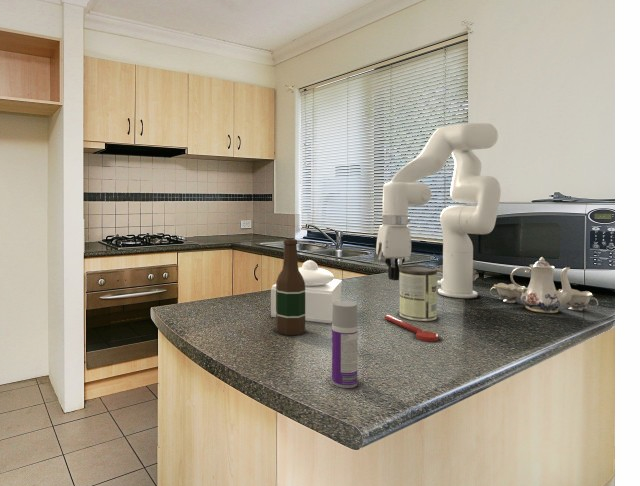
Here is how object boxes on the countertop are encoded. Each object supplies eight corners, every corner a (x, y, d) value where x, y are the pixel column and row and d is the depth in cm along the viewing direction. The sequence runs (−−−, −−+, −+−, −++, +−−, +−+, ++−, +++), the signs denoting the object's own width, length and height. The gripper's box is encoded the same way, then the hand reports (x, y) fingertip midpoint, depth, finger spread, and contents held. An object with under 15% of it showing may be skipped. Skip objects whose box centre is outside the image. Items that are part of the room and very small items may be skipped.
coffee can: (400, 310, 134) (400, 264, 134) (437, 314, 130) (437, 266, 129) (397, 318, 125) (397, 269, 124) (436, 323, 120) (437, 272, 120)
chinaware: (591, 312, 137) (591, 259, 138) (605, 319, 123) (604, 260, 124) (489, 302, 150) (489, 253, 152) (491, 308, 136) (491, 254, 137)
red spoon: (378, 319, 124) (378, 314, 124) (393, 318, 125) (393, 313, 125) (425, 342, 105) (425, 336, 105) (442, 340, 106) (443, 334, 106)
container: (328, 378, 84) (328, 300, 84) (352, 377, 85) (352, 300, 84) (336, 388, 80) (336, 307, 79) (361, 387, 80) (361, 306, 80)
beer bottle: (308, 328, 116) (308, 238, 115) (302, 337, 108) (302, 241, 108) (279, 325, 118) (279, 237, 118) (272, 334, 111) (272, 240, 111)
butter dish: (270, 316, 127) (270, 262, 127) (287, 302, 144) (287, 254, 143) (331, 323, 120) (331, 266, 120) (341, 307, 137) (342, 257, 137)
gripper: (407, 220, 143) (406, 276, 143) (367, 220, 139) (366, 278, 139) (423, 222, 136) (421, 281, 136) (380, 222, 132) (379, 282, 132)
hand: (393, 279), depth 137 cm, fingers closed
